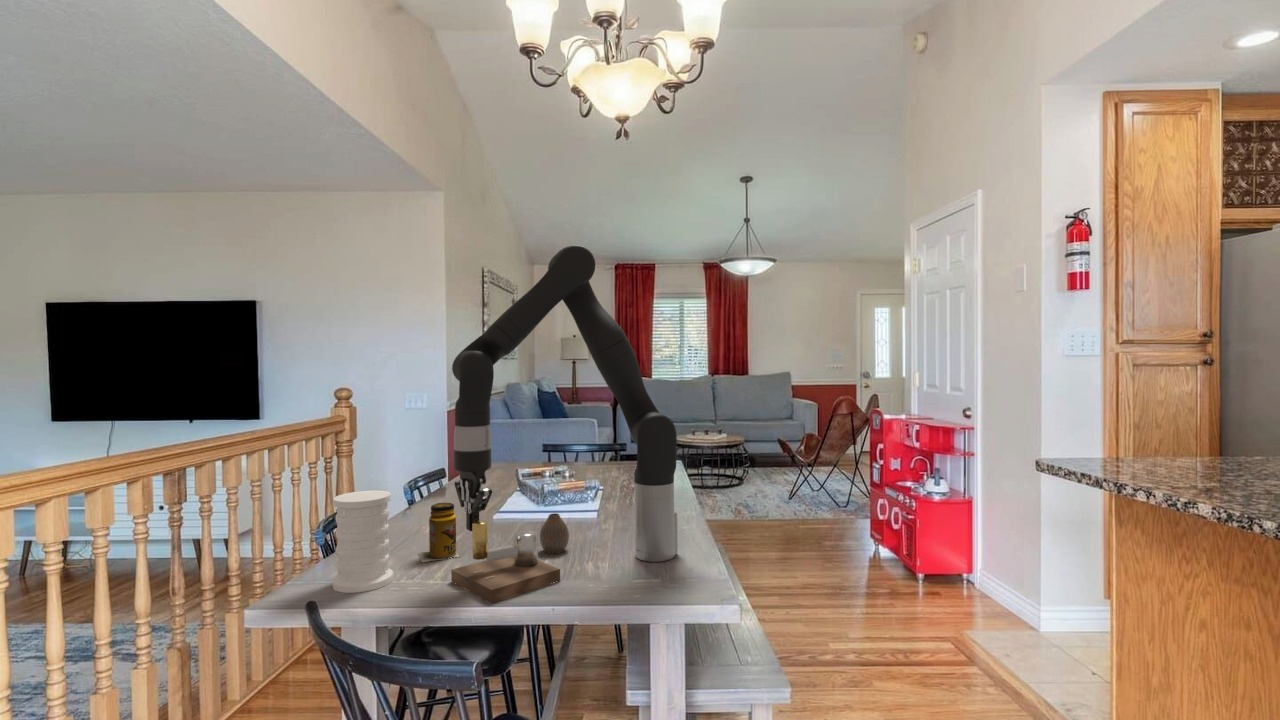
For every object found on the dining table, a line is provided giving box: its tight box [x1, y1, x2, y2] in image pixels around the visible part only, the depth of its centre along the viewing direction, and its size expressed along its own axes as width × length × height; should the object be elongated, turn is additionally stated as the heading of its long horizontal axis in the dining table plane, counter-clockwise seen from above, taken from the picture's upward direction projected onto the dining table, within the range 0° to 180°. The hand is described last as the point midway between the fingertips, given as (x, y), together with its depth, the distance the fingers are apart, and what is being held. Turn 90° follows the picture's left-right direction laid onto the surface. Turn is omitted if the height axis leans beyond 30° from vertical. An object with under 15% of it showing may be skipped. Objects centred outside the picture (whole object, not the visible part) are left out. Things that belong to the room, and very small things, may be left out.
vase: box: [539, 512, 570, 554], centre depth 145 cm, size 7×7×9 cm
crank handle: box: [471, 520, 539, 566], centre depth 127 cm, size 14×5×10 cm, turn 125°
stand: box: [450, 557, 561, 604], centre depth 126 cm, size 16×16×3 cm
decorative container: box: [332, 489, 395, 594], centre depth 126 cm, size 12×12×18 cm
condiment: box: [418, 502, 461, 563], centre depth 143 cm, size 7×8×12 cm
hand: (472, 529), depth 126 cm, fingers closed
